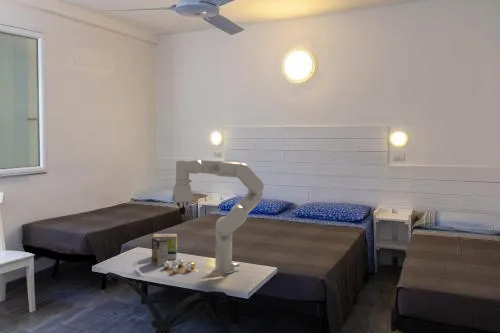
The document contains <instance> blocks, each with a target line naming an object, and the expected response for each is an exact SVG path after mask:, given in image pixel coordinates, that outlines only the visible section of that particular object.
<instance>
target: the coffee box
mask: <svg viewBox="0 0 500 333" xmlns="http://www.w3.org/2000/svg"><path fill="white" fill-rule="evenodd" d="M168 260H169V259H168V240H166V239H164V238H152V237H151V263H152V264H153V265H154V266H157V267H164V261H168Z"/></svg>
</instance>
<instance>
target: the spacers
mask: <svg viewBox="0 0 500 333" xmlns="http://www.w3.org/2000/svg"><path fill="white" fill-rule="evenodd" d="M184 265H186V272H191V264H185V262H184V258H183V259H182V258H180V259H178V260H177V259H172V261H171V267H172V273H173V274H176V275H178V274H177V273H178V267H184ZM169 267H170V261H164V265H163V268H164V269H169ZM164 269H163V270H164ZM191 273H192V272H191Z"/></svg>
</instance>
